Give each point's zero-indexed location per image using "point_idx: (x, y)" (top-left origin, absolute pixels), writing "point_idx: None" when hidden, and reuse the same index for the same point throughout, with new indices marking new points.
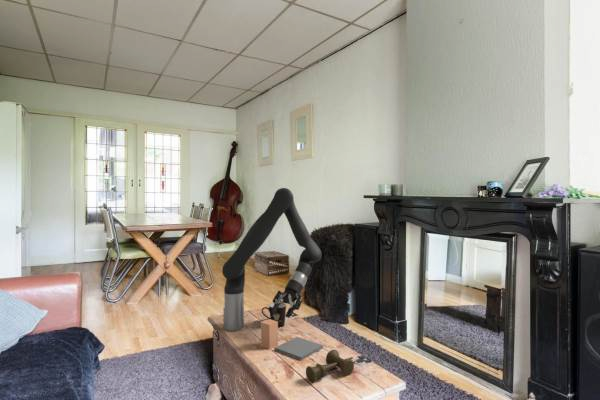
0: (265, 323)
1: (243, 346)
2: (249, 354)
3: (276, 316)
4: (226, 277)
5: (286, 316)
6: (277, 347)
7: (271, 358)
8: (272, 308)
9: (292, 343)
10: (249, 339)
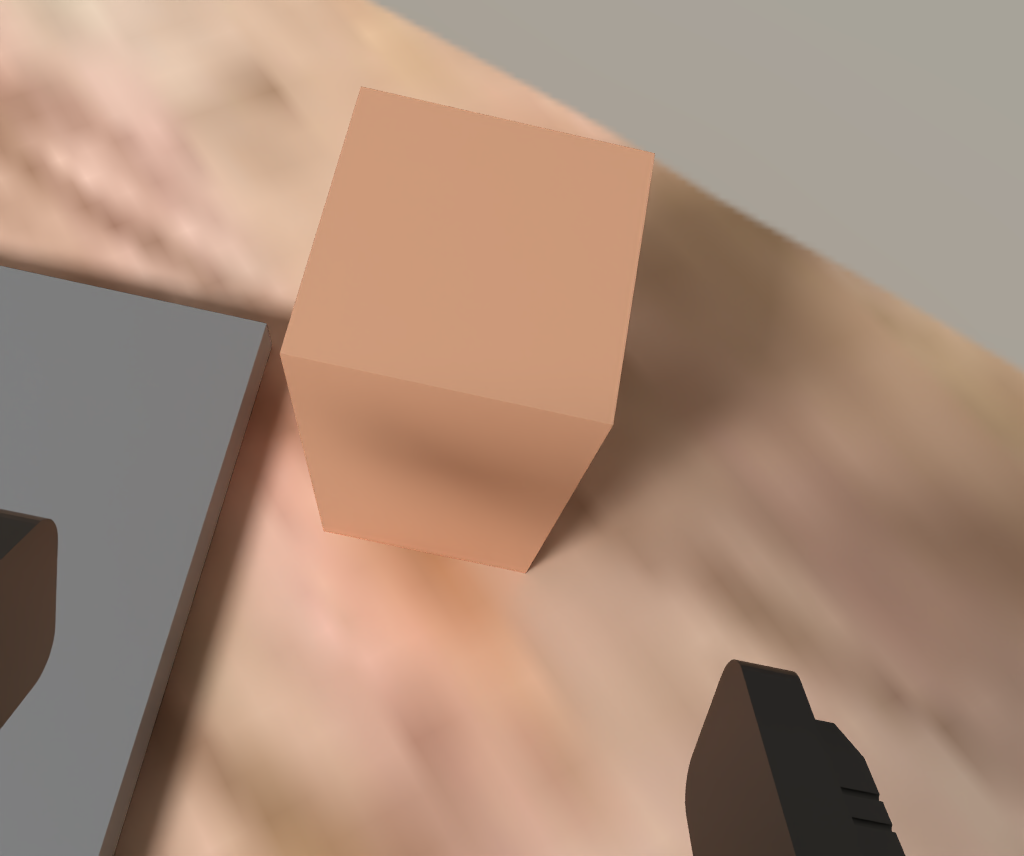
0: (507, 132)
1: (779, 279)
2: (537, 122)
3: None
4: None
5: (56, 576)
6: (224, 341)
7: (192, 132)
8: (864, 791)
9: None
10: (891, 519)
